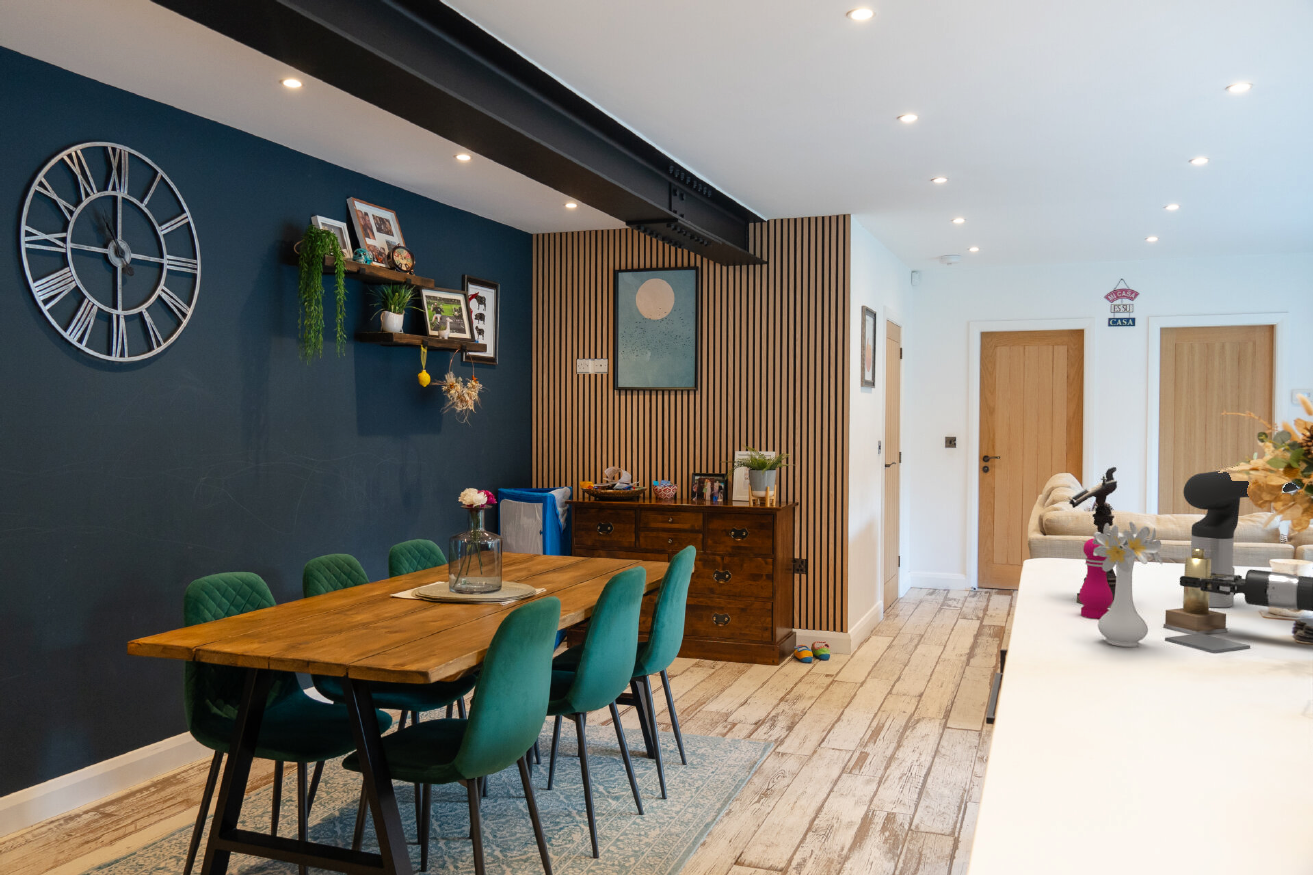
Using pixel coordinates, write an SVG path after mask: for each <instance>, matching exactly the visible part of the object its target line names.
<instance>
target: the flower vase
mask: <svg viewBox="0 0 1313 875" xmlns="http://www.w3.org/2000/svg"><path fill="white" fill-rule="evenodd" d="M1128 524H1129V529H1130V531H1129V530H1127V529H1124V530H1123V531H1122V532H1123V533H1122V532H1119V527H1118V526H1117V524H1113V525H1112V526H1109V524H1108V523H1106V524H1105V526H1104V529H1103V533H1104V534H1101V533H1100V534H1097V535H1096V538H1095V539H1094V540H1093V544H1098V545H1100V546H1098V547H1097V548H1095V549H1094V553H1093V555H1094V556H1098V555H1099V556H1102V557H1107V558H1106V559H1105V561H1104V562H1103V565H1102V569H1103V570H1104V571H1110V570H1111V569H1112V568H1113V569H1114V567H1115V569H1116V573H1115V575H1116V588H1115V597H1114V601H1113V603H1112V606H1111V608H1108V609H1109V611H1108V612H1107V613H1105V614H1104V615H1103V616H1102V617H1101V618H1100V619H1098V623H1097V628H1098V631H1099V633H1100V634H1101V635H1102V636H1104V638H1105V642H1106V643H1107V644H1109V645H1113V646H1115V647H1122V648H1136V647H1138V646H1139V644H1140V641H1141V640H1143V639H1144V638H1145V637H1146V636H1147V635H1148V632H1149V629H1148V625H1147V623H1146V621H1145V620H1144V619H1143V617H1142V616H1141V615H1140V614H1139V613H1138V611H1137V610H1136V607H1135V603H1134V599H1133V598H1134V597H1133V596H1134V595H1133V571H1134V570H1133V569H1134V566H1135V560H1136V558H1137V559H1138V561H1139V562H1140V563H1141V564H1142V565H1146V564H1148V561H1149V560H1148V556H1147V554H1149V555H1150V556H1151V557H1152V558H1153V559H1154V561H1155V562H1156V563H1159V564H1160V565H1163V560H1162V557H1161V555H1160V553H1159V550H1160V549H1161V548H1162V542H1161V540H1160V539H1156V536H1157V535H1156V532H1157V531H1156V528H1155V527H1154V528H1153V529H1152V532H1151V529H1150V527H1148V526H1143V527H1141V528H1139V530H1138V528H1137V526H1136V525H1135V523H1133V521H1129V523H1128ZM1110 527H1112V528H1110ZM1150 533H1151V534H1150ZM1149 536H1150V537H1149ZM1148 537H1149V539H1147V538H1148ZM1155 539H1156V540H1155Z"/></svg>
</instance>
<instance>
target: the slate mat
mask: <svg viewBox="0 0 1313 875" xmlns="http://www.w3.org/2000/svg"><path fill="white" fill-rule="evenodd" d="M1164 641H1166V642H1170V643H1173V644H1177V645H1181V646H1184V647H1189V648H1193V649H1196V650H1200V651H1205V652H1207V653H1212V654H1218V653H1224V652H1233V651H1240V650H1247V649H1251V645H1250V644H1247V643H1242V642H1238V641H1234V640H1229V639H1225V638H1222V637H1217V636H1214V635H1210V634H1207V635H1205V634H1201V633H1199V634H1183V635H1174V636H1169V637H1168V636H1167V637H1164Z"/></svg>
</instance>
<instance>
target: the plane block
mask: <svg viewBox="0 0 1313 875" xmlns="http://www.w3.org/2000/svg"><path fill="white" fill-rule="evenodd" d="M1164 618H1165V619H1164V620H1165V622H1164V623H1163V627H1162V628H1164V629H1167V630H1172V631H1175V632H1179V633H1184V634H1186V635H1191V634H1199V633H1201V634H1205V635H1213V634H1221V633H1228V627H1227V613H1223V612H1220V611H1215V610H1210V609H1209V614H1193V613H1188V612H1184V611H1183V607H1181V608H1173V609H1165V617H1164Z"/></svg>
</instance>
